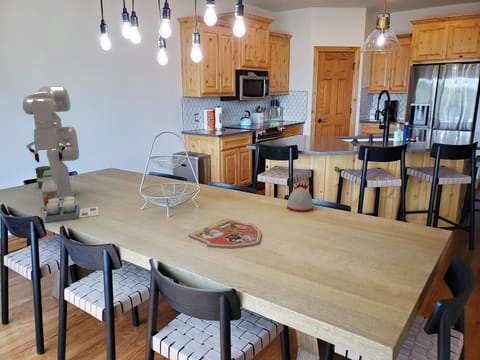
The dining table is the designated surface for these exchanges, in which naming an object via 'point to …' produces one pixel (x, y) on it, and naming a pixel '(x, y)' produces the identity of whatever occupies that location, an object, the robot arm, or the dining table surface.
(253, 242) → the coat of arms plaque
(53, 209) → the button
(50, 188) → the milk bottle
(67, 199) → the button
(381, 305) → the dining table surface
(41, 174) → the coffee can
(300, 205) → the grey red dome
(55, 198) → the button
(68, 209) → the button
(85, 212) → the card
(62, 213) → the button board
